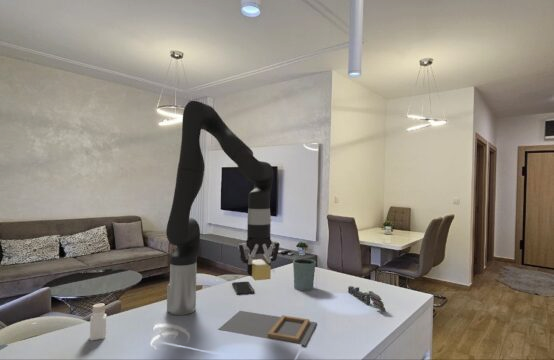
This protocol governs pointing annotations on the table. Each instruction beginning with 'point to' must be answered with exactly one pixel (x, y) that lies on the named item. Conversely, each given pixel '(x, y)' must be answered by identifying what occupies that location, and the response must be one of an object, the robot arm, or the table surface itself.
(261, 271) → the card box
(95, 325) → the pepper shaker
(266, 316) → the mat
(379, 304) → the block letters
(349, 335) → the table surface
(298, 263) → the green cup
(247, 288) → the phone
